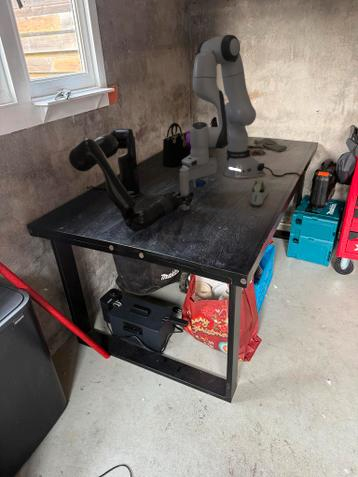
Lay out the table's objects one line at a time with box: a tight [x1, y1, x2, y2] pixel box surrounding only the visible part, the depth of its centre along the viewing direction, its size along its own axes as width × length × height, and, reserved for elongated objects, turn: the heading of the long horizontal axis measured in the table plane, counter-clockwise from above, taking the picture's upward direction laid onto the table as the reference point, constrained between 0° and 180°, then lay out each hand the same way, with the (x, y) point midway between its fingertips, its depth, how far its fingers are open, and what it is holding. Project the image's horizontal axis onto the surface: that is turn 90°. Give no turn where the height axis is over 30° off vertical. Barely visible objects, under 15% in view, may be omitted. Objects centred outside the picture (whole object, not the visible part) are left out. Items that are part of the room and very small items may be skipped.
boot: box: [209, 116, 219, 127], centre depth 245 cm, size 9×24×20 cm, turn 168°
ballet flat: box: [249, 179, 269, 207], centre depth 158 cm, size 8×24×8 cm, turn 163°
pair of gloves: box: [247, 138, 288, 155], centre depth 230 cm, size 30×26×5 cm
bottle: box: [179, 167, 191, 211], centre depth 149 cm, size 4×4×19 cm
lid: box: [195, 179, 206, 188], centre depth 165 cm, size 5×5×2 cm
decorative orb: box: [184, 130, 191, 154], centre depth 230 cm, size 15×15×15 cm
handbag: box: [162, 122, 190, 168], centre depth 210 cm, size 21×9×25 cm, turn 148°
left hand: (188, 193), depth 152 cm, fingers closed on bottle, 4 cm apart
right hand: (199, 185), depth 165 cm, fingers closed on lid, 5 cm apart
